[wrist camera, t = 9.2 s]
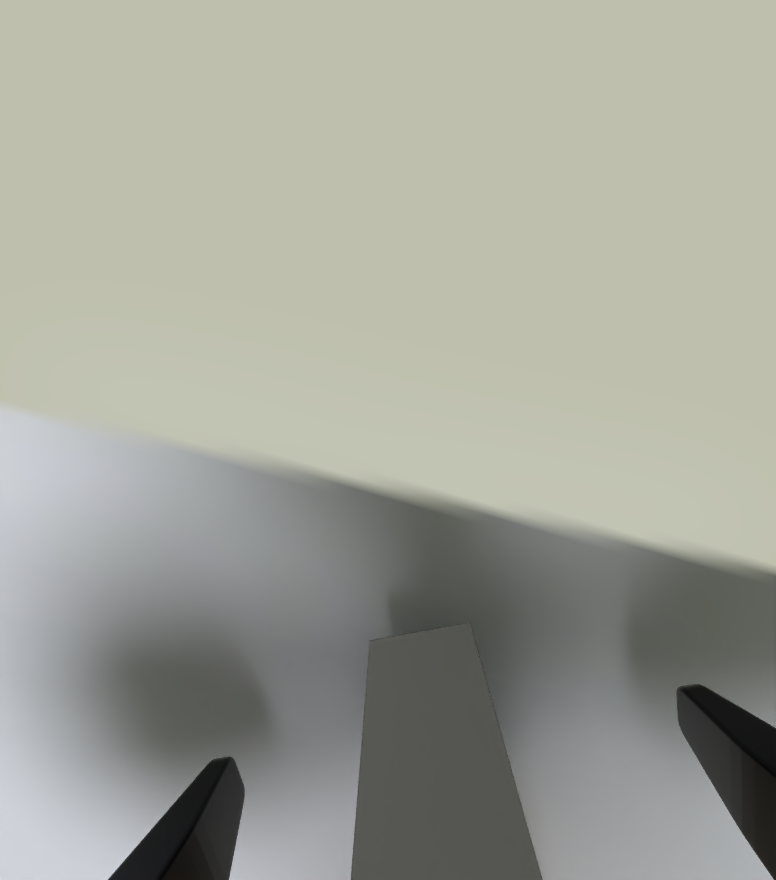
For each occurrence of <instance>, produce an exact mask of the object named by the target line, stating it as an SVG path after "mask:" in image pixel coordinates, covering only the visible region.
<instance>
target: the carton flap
mask: <svg viewBox="0 0 776 880" xmlns="http://www.w3.org/2000/svg"><path fill="white" fill-rule="evenodd" d="M351 880H542V876H541V873H540V869H539V866H538V862H537V859H536V855H535V852H534V848H533V845H532V841H531V838H530V834H529V830H528V827H527V823H526V820H525V816H524V813H523V809H522V806H521V802H520V799H519V795H518V791H517V788H516V784H515V781H514V777H513V774H512V770H511V767H510V763H509V760H508V756H507V753H506V749H505V745H504V742H503V738H502V735H501V731H500V728H499V724H498V721H497V717H496V714H495V710H494V707H493V703H492V699H491V696H490V692H489V689H488V685H487V682H486V678H485V675H484V671H483V668H482V664H481V661H480V657H479V653H478V650H477V646H476V643H475V639H474V636H473V632H472V629H471V625H470V623H465V624H459V625H454V626H448V627H443V628H437V629H432V630H426V631H420V632H415V633H409V634H404V635H398V636H393V637H387V638H381V639H376V640H370V645H369V658H368V670H367V683H366V695H365V708H364V721H363V733H362V746H361V758H360V771H359V783H358V796H357V808H356V821H355V833H354V846H353V859H352V871H351Z"/></svg>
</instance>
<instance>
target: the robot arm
mask: <svg viewBox="0 0 776 880" xmlns="http://www.w3.org/2000/svg"><path fill="white" fill-rule="evenodd" d="M677 710H678V722H679V726H680V728H681V731H682V733H683V735H684V736H685V738H686V740H687V742H688V743H689V745H690V747H691V748H692V750H693V752H694V753H695V755H696V757H697V758H698V760H699V762H700V764H701V765H702V767H703V769H704V770H705V772H706V774H707V775H708V777H709V779H710V780H711V782H712V784H713V785H714V787H715V789H716V791H717V792H718V794H719V796H720V797H721V799H722V801H723V802H724V804H725V806H726V807H727V809H728V811H729V812H730V814H731V816H732V817H733V819H734V821H735V822H736V824H737V826H738V827H739V829H740V830H741V832H742V834H743V835H744V837H745V838H746V840H747V841H748V843H749V844H750V846H751V847H752V849H753V850H754V851H755V853H756V854H757V856H758V857H759V859H760V860H761V862H762V863H763V864H764V866H765V867H766V869H767V870H768V872H769V873H770V874H771V876H772V877H773V879H774V880H776V728H775V727H773V726H771V725H770V724H768V723H766V722H764V721H763V720H761V719H759V718H758V717H756V716H754V715H752V714H751V713H749V712H747V711H746V710H744V709H742V708H741V707H739V706H737V705H735V704H734V703H732V702H730V701H729V700H727V699H725V698H724V697H722V696H720V695H718V694H717V693H715V692H713V691H712V690H710V689H708V688H707V687H705V686H702V685H700V684H693V685H687V686H681V687H679V688H678V689H677ZM244 795H245V790H244V784H243V782H242V779H241V776H240V773H239V770H238V768H237V765H236V762H235V760H234V759H233V758H232V757H223V758H217V759H214V760H212V761H211V762H210V763H209V764H208V765H207V766H206V767H205V768H204V769H203V770H202V772H201V773H200V774H199V775H198V776H197V777H196V779H195V780H194V781H193V782H192V783H191V784H190V785H189V787H188V788H187V789H186V790H185V791H184V792H183V794H182V795H181V796H180V797H179V798H178V799H177V801H176V802H175V803H174V804H173V805H172V806H171V807H170V809H169V810H168V811H167V812H166V813H165V814H164V816H163V817H162V818H161V819H160V820H159V821H158V822H157V824H156V825H155V826H154V827H153V828H152V829H151V831H150V832H149V833H148V834H147V835H146V836H145V837H144V839H143V840H142V841H141V842H140V843H139V844H138V846H137V847H136V848H135V849H134V850H133V851H132V853H131V854H130V855H129V856H128V857H127V858H126V859H125V861H124V862H123V863H122V864H121V865H120V866H119V868H118V869H117V870H116V871H115V872H114V873H113V874H112V876H111V877H110V878H109V879H108V880H229V876H230V871H231V866H232V861H233V856H234V850H235V845H236V840H237V835H238V829H239V824H240V819H241V814H242V809H243V803H244Z"/></svg>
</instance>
